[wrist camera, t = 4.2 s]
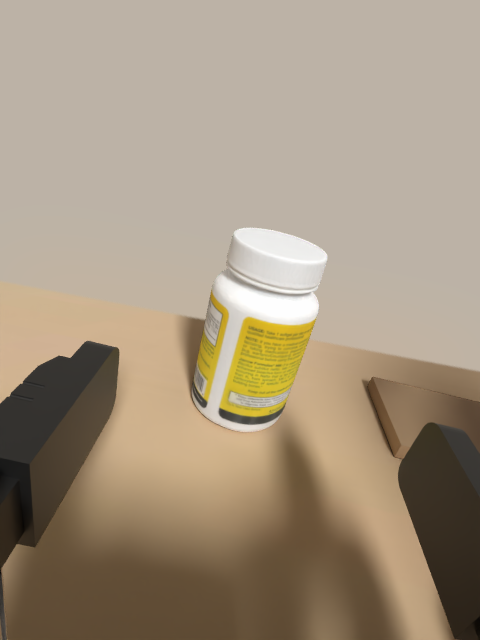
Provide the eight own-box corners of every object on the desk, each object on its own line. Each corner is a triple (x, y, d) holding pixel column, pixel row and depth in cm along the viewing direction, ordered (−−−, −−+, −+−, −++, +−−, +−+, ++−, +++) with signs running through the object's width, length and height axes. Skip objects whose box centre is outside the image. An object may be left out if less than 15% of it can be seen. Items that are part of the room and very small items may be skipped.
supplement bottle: (296, 403, 19) (354, 256, 16) (249, 453, 16) (310, 275, 12) (226, 361, 21) (262, 220, 18) (169, 395, 18) (199, 227, 14)
